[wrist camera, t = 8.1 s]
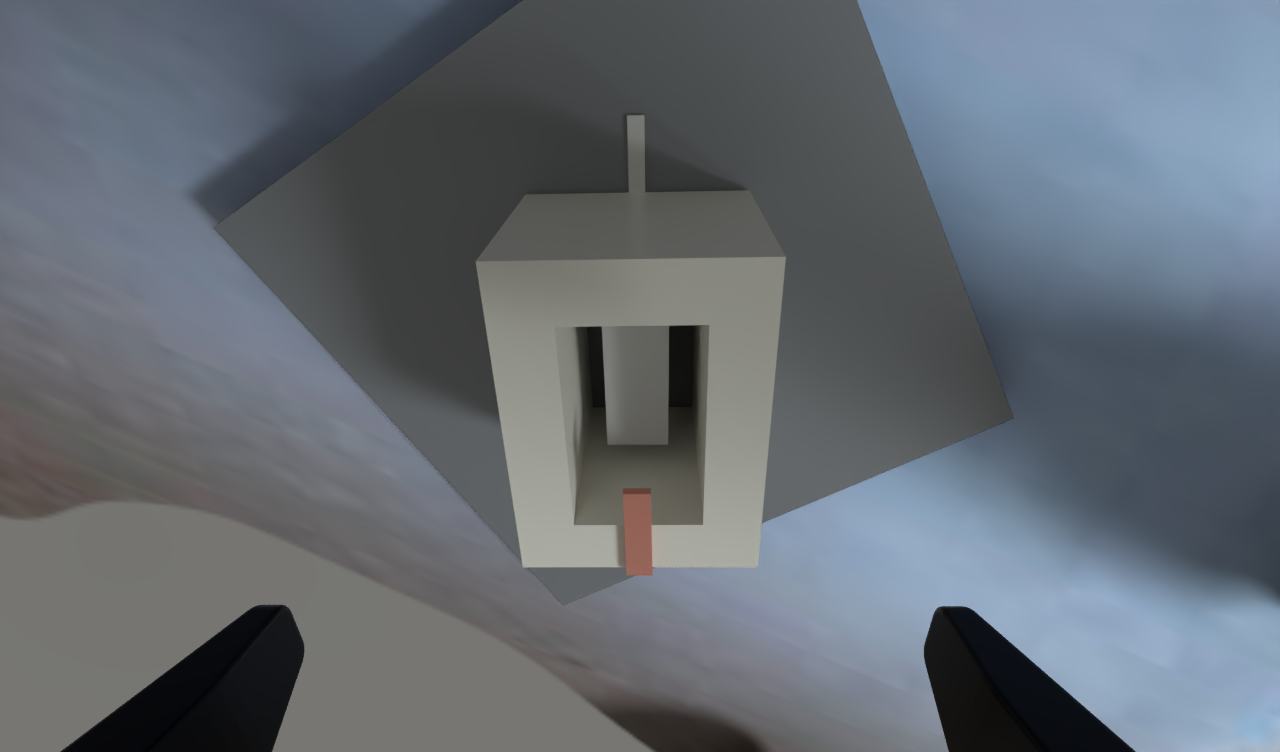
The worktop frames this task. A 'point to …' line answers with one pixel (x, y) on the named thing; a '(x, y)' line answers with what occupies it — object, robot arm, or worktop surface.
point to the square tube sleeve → (577, 432)
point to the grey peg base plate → (638, 162)
